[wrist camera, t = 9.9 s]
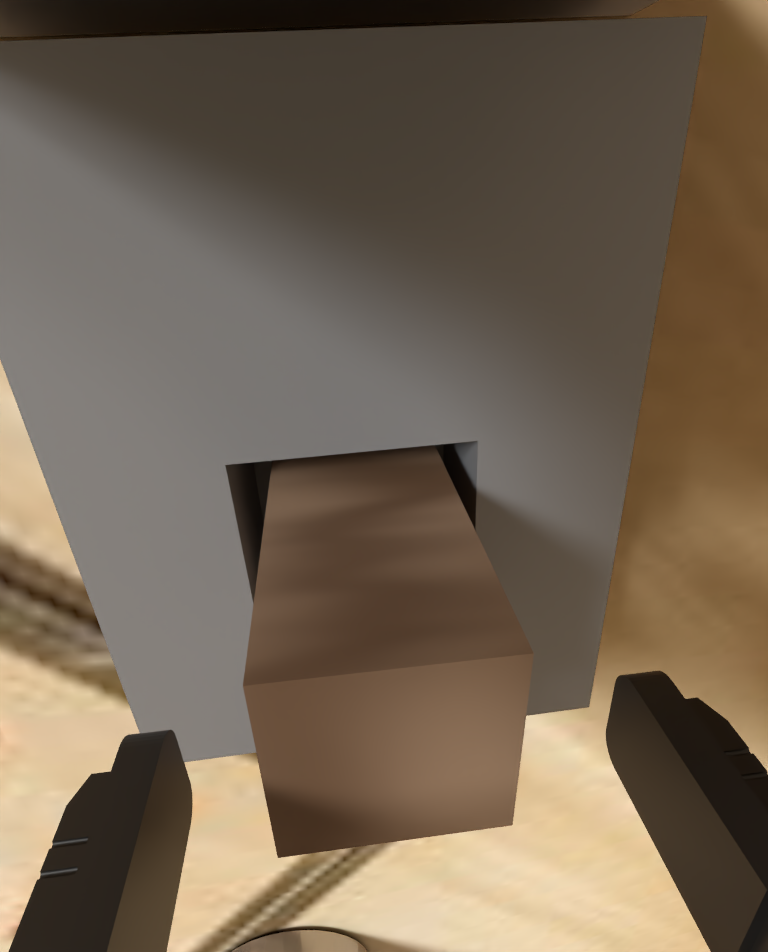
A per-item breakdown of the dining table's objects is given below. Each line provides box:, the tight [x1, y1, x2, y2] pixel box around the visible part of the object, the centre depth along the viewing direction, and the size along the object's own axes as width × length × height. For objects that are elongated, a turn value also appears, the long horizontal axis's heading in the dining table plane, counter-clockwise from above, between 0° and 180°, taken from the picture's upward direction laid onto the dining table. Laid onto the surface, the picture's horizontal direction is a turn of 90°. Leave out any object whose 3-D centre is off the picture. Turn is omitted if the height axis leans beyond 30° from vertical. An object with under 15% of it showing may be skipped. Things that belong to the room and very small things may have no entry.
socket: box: [0, 16, 707, 762], centre depth 16 cm, size 18×14×5 cm
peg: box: [243, 445, 534, 858], centre depth 14 cm, size 4×4×10 cm
